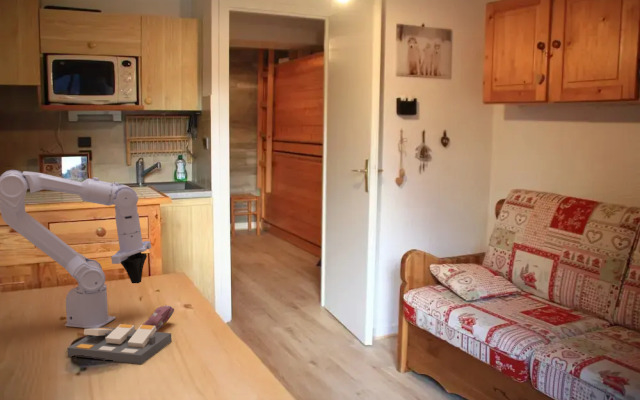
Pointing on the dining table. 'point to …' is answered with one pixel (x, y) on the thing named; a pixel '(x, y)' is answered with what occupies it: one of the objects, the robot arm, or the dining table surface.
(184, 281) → the dining table surface
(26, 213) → the robot arm
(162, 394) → the dining table surface
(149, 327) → the rocker
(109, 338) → the block
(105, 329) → the block
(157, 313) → the video game controller
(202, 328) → the dining table surface
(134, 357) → the switch unit
